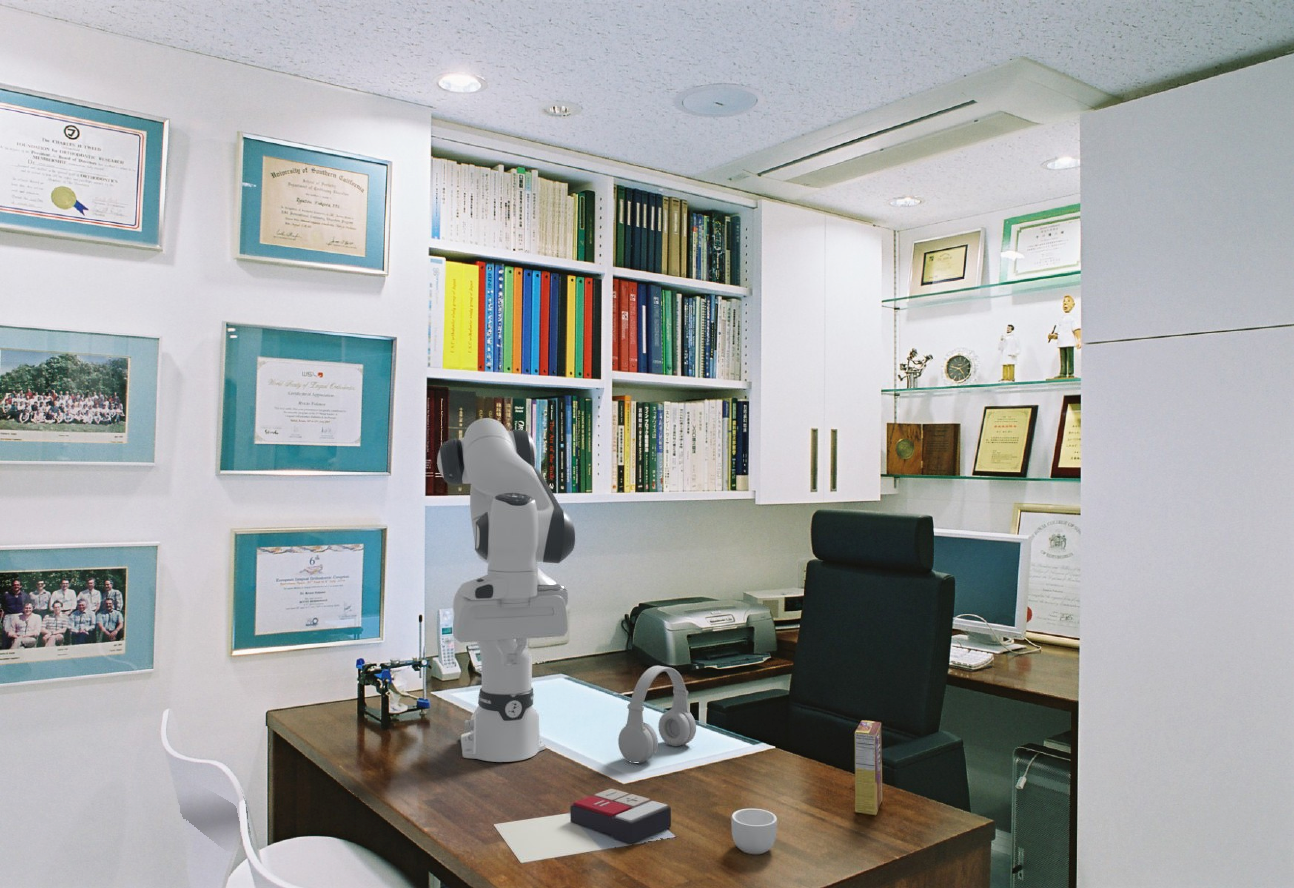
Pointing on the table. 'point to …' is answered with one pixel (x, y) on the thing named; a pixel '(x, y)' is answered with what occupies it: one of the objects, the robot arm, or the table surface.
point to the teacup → (754, 830)
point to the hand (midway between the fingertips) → (510, 664)
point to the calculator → (621, 815)
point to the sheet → (558, 838)
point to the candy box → (868, 767)
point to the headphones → (673, 725)
